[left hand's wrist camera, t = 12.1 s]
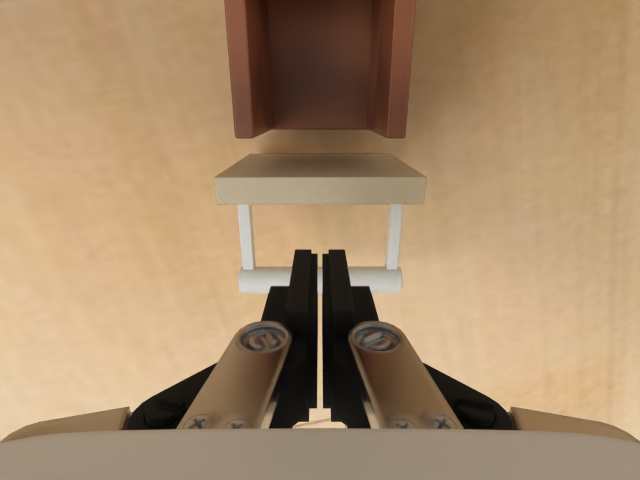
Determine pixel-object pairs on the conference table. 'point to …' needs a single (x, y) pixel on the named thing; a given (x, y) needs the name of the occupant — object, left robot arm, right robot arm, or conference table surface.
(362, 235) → the conference table surface
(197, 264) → the conference table surface
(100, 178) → the conference table surface
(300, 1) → the drawer
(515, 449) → the left robot arm
